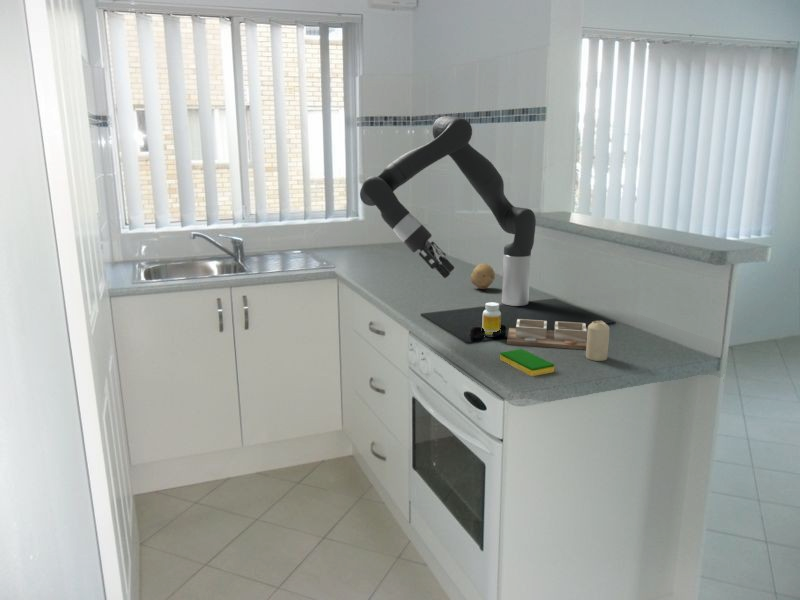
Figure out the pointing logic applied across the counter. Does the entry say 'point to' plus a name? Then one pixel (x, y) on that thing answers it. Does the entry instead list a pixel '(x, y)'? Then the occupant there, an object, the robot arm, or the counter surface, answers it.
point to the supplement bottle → (491, 318)
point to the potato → (482, 276)
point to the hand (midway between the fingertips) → (450, 273)
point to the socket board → (548, 334)
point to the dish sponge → (527, 362)
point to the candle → (597, 341)
